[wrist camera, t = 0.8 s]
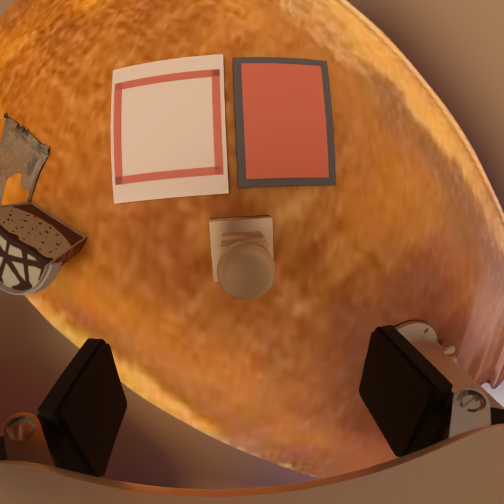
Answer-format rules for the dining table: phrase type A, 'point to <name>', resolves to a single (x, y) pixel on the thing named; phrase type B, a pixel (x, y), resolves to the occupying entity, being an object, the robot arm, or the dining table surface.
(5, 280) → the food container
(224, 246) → the stamp
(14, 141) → the parchment
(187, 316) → the dining table surface
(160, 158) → the marked board
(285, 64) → the ink pad
